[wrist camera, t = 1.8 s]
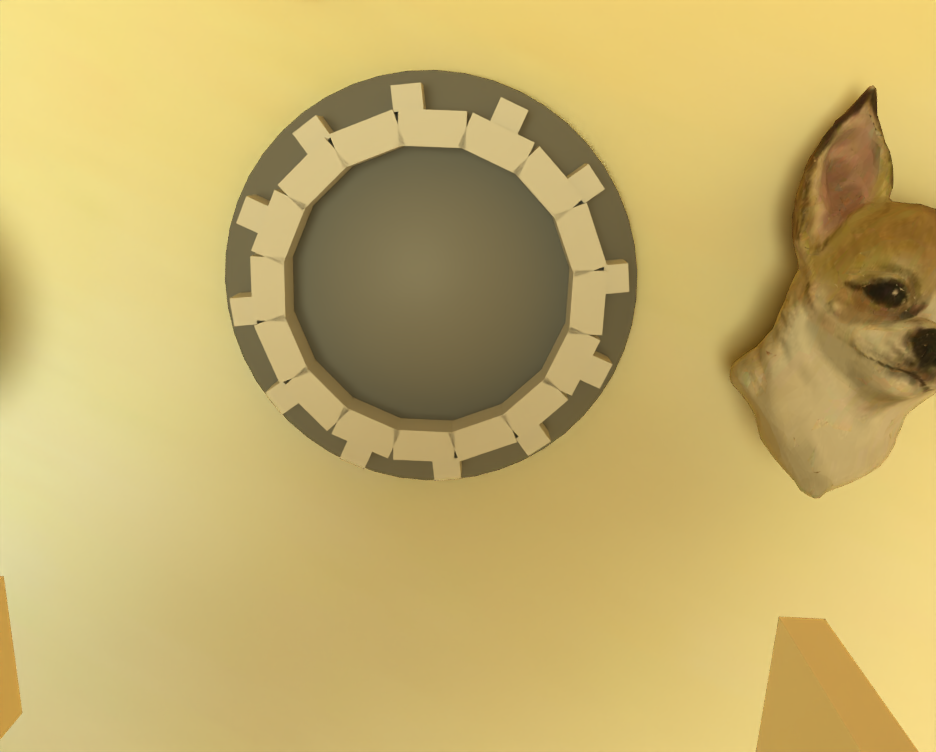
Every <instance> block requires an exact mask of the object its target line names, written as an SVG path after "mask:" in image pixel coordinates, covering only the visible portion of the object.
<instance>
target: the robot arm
mask: <svg viewBox="0 0 936 752" xmlns="http://www.w3.org/2000/svg"><path fill="white" fill-rule="evenodd" d="M21 714H22V707H21V700H20V692H19V685H18V678H17V670H16V663H15V656H14V649H13V641H12V634H11V627H10V619H9V612H8V605H7V597H6V590H5V583H4V576H0V739H1V738H2V737H3V735H4V734H5V733H6V732H7V731H8V729H9V728H10V727H11V726H12V725H13V723H14V722H15V721H16V720H17V719H18V717H19V716H20V715H21ZM756 752H918V750H917V749H916V747H915V746H914V745H913V743H912V742H911V740H910V739H909V737H908V736H907V735H906V733H905V732H904V730H903V729H902V728H901V726H900V725H899V723H898V722H897V720H896V719H895V718H894V716H893V715H892V713H891V712H890V711H889V709H888V708H887V706H886V705H885V703H884V702H883V701H882V699H881V698H880V696H879V695H878V694H877V692H876V691H875V689H874V688H873V686H872V685H871V684H870V682H869V681H868V679H867V678H866V677H865V675H864V674H863V672H862V671H861V669H860V668H859V667H858V665H857V664H856V662H855V661H854V660H853V658H852V657H851V655H850V654H849V652H848V651H847V650H846V648H845V647H844V645H843V644H842V643H841V641H840V640H839V638H838V637H837V635H836V634H835V633H834V631H833V630H832V628H831V627H830V626H829V624H828V623H827V621H826V620H825V619H814V618H795V617H779V619H778V625H777V631H776V637H775V642H774V648H773V654H772V660H771V666H770V672H769V678H768V684H767V689H766V695H765V701H764V707H763V713H762V719H761V725H760V730H759V736H758V742H757V748H756Z"/></svg>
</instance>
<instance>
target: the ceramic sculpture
mask: <svg viewBox="0 0 936 752" xmlns="http://www.w3.org/2000/svg"><path fill="white" fill-rule="evenodd" d="M892 188H893V165H892V159H891V155H890V151H889V149H888V147H887V145H886V143H885V140H884V136H883V132H882V129H881V126H880V122H879V119H878V116H877V93H876V88H875V87H874V86H870V87H869V88H868V89H867V90H866V91H865V92H864V93H863V94H862V95H861V96H860V97H859V99H858V100H857V101H856V102H855V103H854V104H853V105H852V106H851V107H850V108H849V109H848V110H847V112H846V113H845V114H844V115H842V116H841V117H840V118H839V119H837V120H836V121H835V123H834V125H833V126H832V127H831V129H830V130H829V131H828V132H827V133H826V135H825V136H824V137H823V139H822V141H821V142H820V144H819V145H818V147H817V148H816V150H815V151H814V153H813V154H812V156H811V157H810V159H809V161H808V163H807V165H806V167H805V172H804V175H803V177H802V180H801V182H800V185H799V188H798V191H797V196H796V199H795V209H794V212H793V215H792V237H793V242H794V248H795V252H796V256H797V259H798V266H799V270H798V271H797V273H796V275H795V277H794V278H793V280H792V283H791V285H790V287H789V290H788V293H787V294H786V299H785V301H784V303H783V305H782V307H781V310H780V312H779V314H778V316H777V319H776V322H775V325H774V327H773V329H772V330H771V331H770V332H769V333H768V334H767V335H766V336H765V337H764V339H763V340H762V341H761V342H760V344H759V345H758V346H756V347H755V348H754V349H752V350H751V351H749V352H747V353H746V354H744V355H743V356H742V357H740V358H739V359H738V360H737V361H736V362H734V363H733V365H732V367H731V370H730V380H731V383H732V384H733V386H734V387H735V388H736V389H737V390H738V391H739V392H740V393H741V394H742V395H743V397H744V398H745V399H746V400H747V402H748V404H749V405H750V407H751V409H752V411H753V413H754V414H755V418H756V422H757V427H758V431H759V435H760V438H761V440H762V442H763V443H764V445H765V446H766V447H767V449H768V450H769V451H770V453H771V455H772V456H773V457H774V458H775V460H776V461H777V462H778V463H779V464H780V466H781V467H782V468H783V469H784V470H785V471H786V472H787V473H788V474H789V475H790V477H791V478H792V479H793V480H794V481H795V483H796V484H797V486H798V487H799V489H800V490H801V491H802V492H804V493H805V494H807V495H808V496H810V497H813V498H820V497H821V496H822V495H823V494H825V493H826V492H828V491H831V490H833V489H835V488H838V487H841V486H844V485H846V484H849V483H851V482H853V481H855V480H857V479H859V478H861V477H863V476H865V475H867V474H868V473H870V472H872V471H873V470H875V469H876V468H878V467H879V466H881V464H882V463H883V462H884V461H885V459H886V458H887V457H888V455H889V454H890V452H891V450H892V449H893V447H894V445H895V441H896V438H897V436H898V434H899V432H900V430H901V427H902V424H903V421H904V419H905V417H906V415H907V414H908V413H909V412H910V411H912V410H913V409H914V408H915V407H917V406H918V405H919V404H921V403H922V402H923V401H925V400H926V399H927V398H929V397H931V396H932V395H934V394H935V393H936V209H934V208H931V207H928V206H924V205H921V204H909V203H900V202H893V201H892V200H891V199H890V198H889V197H890V194H891V191H892Z"/></svg>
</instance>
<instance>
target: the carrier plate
mask: <svg viewBox="0 0 936 752" xmlns="http://www.w3.org/2000/svg"><path fill="white" fill-rule="evenodd" d="M225 283H226V292H227V302H228V309H229V313H230V317H231V321H232V325H233V329H234V333H235V336H236V339H237V341H238V344H239V346H240V349H241V352H242V354H243V357H244V359H245V361H246V363H247V365H248V366H249V368H250V370H251V372H252V374H253V376H254V378H255V379H256V381H257V383H258V384H259V385H260V387H261V388H262V390H263V391H264V392H265V394H266V395H267V397H268V398H269V400H270V401H271V402H272V403H273V404H274V406H275V407H276V408H277V409H278V410H279V412H280V413H281V414H283V415H284V416H285V418H286V419H287V420H288V421H289V422H290V423H292V424H293V425H294V426H295V427H296V428H297V429H299V430H300V431H301V432H302V433H303V434H304V435H306V436H307V437H308V438H309V439H311V440H312V441H314V442H315V443H317V444H318V445H320V446H321V447H323V448H324V449H326V450H327V451H329V452H331V453H333V454H335V455H337V456H339V457H340V459H342V460H345V461H347V462H349V463H352V464H354V465H356V466H359V467H361V468H363V469H365V468H367V469H370V470H372V471H375V472H379V473H384V474H388V475H392V476H397V477H402V478H411V479H421V480H434V481H436V480H451V479H461V478H465V477H472V476H477V475H481V474H485V473H489V472H492V471H496V470H500V469H502V468H505V467H507V466H510V465H512V464H514V463H517V462H519V461H522V460H524V459H526V458H528V457H529V456H531V455H533V454H535V453H536V452H538V451H540V450H542V449H544V448H545V447H547V446H548V445H549V444H551V443H552V442H553V441H555V440H556V439H558V438H559V437H560V436H562V435H563V434H564V433H566V432H567V431H568V430H569V429H570V428H571V427H572V426H573V425H574V424H575V423H576V422H577V421H578V420H579V419H580V418H581V417H582V416H583V415H584V414H585V413H586V412H587V411H588V409H589V408H590V407H591V406H592V404H593V403H594V402H595V401H596V400H597V398H598V397H599V396H600V394H601V393H602V391H603V389H604V388H605V386H606V385H607V383H608V381H609V380H610V378H611V377H612V375H613V373H614V371H615V369H616V367H617V364H618V362H619V360H620V358H621V356H622V353H623V351H624V349H625V345H626V342H627V339H628V335H629V332H630V329H631V326H632V320H633V314H634V308H635V302H636V287H637V267H636V257H635V247H634V241H633V237H632V233H631V229H630V224H629V220H628V217H627V214H626V211H625V209H624V206H623V204H622V201H621V198H620V196H619V193H618V191H617V189H616V187H615V185H614V184H613V182H612V180H611V178H610V176H609V175H608V173H607V171H606V169H605V167H604V166H603V164H602V163H601V162H600V160H599V159H598V158H597V156H596V155H595V154H594V152H593V151H592V150H591V148H590V147H589V146H588V144H587V143H586V142H585V141H584V140H583V139H582V138H581V137H580V136H579V135H578V134H577V133H576V132H575V131H574V130H573V129H572V128H571V127H570V126H569V125H568V124H567V123H566V122H565V121H563V120H562V119H561V118H560V117H558V116H557V115H556V114H554V113H553V112H552V111H551V110H549V109H548V108H547V107H545V106H544V105H542V104H541V103H539V102H537V101H535V100H534V99H532V98H530V97H528V96H527V95H525V94H523V93H522V92H520V91H517V90H515V89H512V88H510V87H508V86H505V85H503V84H500V83H498V82H495V81H493V80H489V79H485V78H481V77H477V76H473V75H469V74H465V73H457V72H447V71H438V70H428V71H405V72H399V73H393V74H387V75H382V76H377V77H374V78H371V79H368V80H365V81H362V82H358V83H355V84H352V85H350V86H348V87H346V88H344V89H342V90H340V91H338V92H336V93H333V94H331V95H329V96H327V97H325V98H324V99H322V100H321V101H319V102H318V103H316V104H315V105H313V106H312V107H311V108H309V109H308V110H306V111H305V112H303V113H302V114H301V115H300V116H298V117H297V118H296V119H295V120H294V121H293V122H292V123H291V124H290V125H288V126H287V127H286V128H285V129H284V130H283V131H282V132H281V133H280V134H279V135H278V137H277V138H276V139H275V140H274V141H273V142H272V144H271V145H270V146H269V147H268V148H267V150H266V151H265V152H264V153H263V155H262V156H261V158H260V160H259V161H258V163H257V164H256V166H255V168H254V169H253V171H252V172H251V174H250V175H249V177H248V180H247V182H246V184H245V186H244V188H243V191H242V193H241V195H240V197H239V200H238V202H237V205H236V209H235V212H234V215H233V219H232V222H231V226H230V230H229V237H228V243H227V250H226V268H225Z"/></svg>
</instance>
